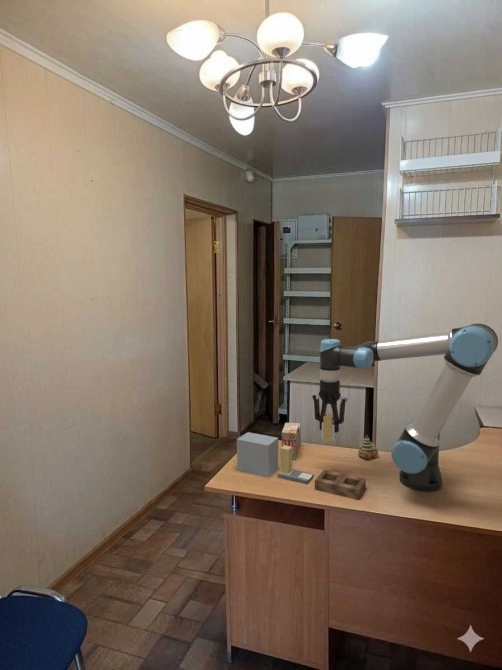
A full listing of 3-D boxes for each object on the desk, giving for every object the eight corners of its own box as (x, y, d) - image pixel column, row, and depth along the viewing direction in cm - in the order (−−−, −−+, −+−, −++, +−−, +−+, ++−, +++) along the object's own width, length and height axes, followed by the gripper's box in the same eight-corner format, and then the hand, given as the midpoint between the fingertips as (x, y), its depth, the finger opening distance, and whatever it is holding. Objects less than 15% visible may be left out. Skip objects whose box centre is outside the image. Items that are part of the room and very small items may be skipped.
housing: (278, 468, 175) (278, 437, 174) (268, 477, 168) (268, 445, 166) (248, 461, 182) (247, 432, 180) (237, 470, 174) (236, 439, 173)
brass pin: (334, 439, 169) (335, 414, 167) (331, 442, 166) (332, 417, 164) (326, 438, 170) (326, 413, 169) (323, 441, 167) (323, 416, 166)
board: (314, 476, 168) (314, 449, 166) (307, 484, 162) (307, 455, 160) (284, 470, 174) (285, 443, 172) (277, 477, 168) (277, 449, 166)
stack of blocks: (287, 441, 205) (287, 416, 204) (300, 442, 204) (300, 416, 202) (281, 459, 184) (281, 431, 183) (296, 460, 183) (296, 432, 182)
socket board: (365, 487, 159) (365, 478, 158) (358, 499, 150) (358, 490, 150) (323, 478, 167) (324, 469, 166) (314, 489, 158) (314, 480, 157)
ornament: (369, 452, 191) (370, 430, 189) (380, 457, 186) (380, 435, 184) (356, 456, 187) (356, 434, 185) (367, 461, 181) (367, 438, 180)
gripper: (354, 380, 164) (352, 439, 167) (313, 375, 172) (312, 432, 175) (348, 384, 158) (346, 446, 161) (305, 379, 166) (305, 438, 169)
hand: (329, 438), depth 168 cm, fingers closed on brass pin, 3 cm apart
